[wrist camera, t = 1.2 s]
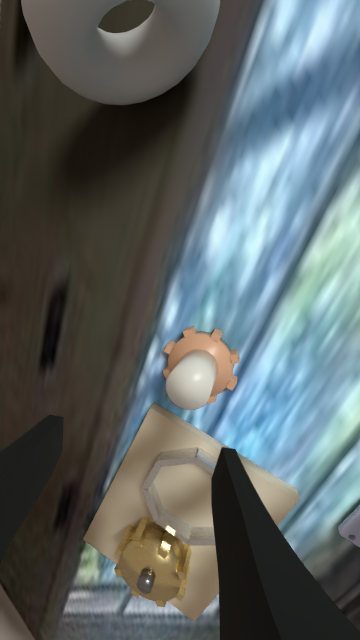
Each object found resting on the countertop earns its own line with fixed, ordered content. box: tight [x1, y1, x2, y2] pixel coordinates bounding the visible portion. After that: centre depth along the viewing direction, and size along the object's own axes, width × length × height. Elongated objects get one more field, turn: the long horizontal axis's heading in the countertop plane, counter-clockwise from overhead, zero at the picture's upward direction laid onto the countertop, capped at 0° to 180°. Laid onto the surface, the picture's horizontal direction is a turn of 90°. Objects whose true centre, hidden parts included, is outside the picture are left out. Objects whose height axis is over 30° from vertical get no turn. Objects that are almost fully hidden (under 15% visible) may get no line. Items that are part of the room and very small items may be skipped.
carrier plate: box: [83, 402, 299, 621], centre depth 25 cm, size 14×19×1 cm
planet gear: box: [163, 326, 240, 410], centre depth 20 cm, size 6×6×5 cm
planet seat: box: [142, 447, 218, 546], centre depth 23 cm, size 9×9×1 cm
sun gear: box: [114, 517, 192, 607], centre depth 25 cm, size 7×7×3 cm
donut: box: [21, 0, 220, 105], centre depth 14 cm, size 10×3×10 cm, turn 106°
